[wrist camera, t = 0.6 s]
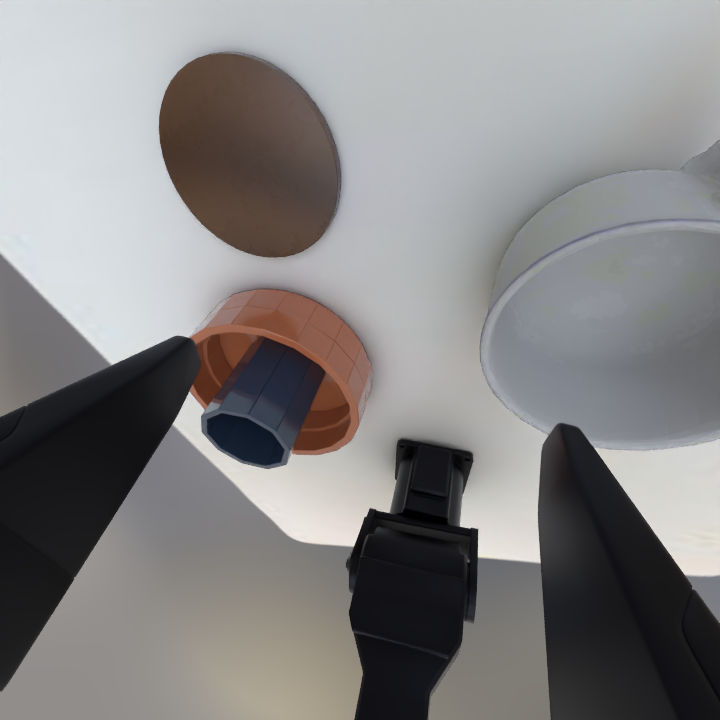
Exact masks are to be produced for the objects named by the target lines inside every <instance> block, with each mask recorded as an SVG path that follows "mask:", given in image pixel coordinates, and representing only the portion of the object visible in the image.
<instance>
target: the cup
mask: <svg viewBox="0 0 720 720" xmlns="http://www.w3.org/2000/svg"><path fill="white" fill-rule="evenodd" d="M325 374H326V371H325V370H324V369H323V368H322V367H321V366H320V365H318V364H317V363H315V362H314V361H312V360H311V359H309V358H308V357H306V356H305V355H303V354H302V353H300V352H299V351H297V350H296V349H294V348H292V347H290V346H287V345H284V344H282V343H279V342H277V341H274V340H272V339H269V338H267V337H264V336H260V337H259V338H258V339H257V340H256V341H255V342H253V343H251V345H250V346H249V348H248V349H247V351H246V352H245V354H244V355H243V356H242V358H241V359H240V361H239V362H238V364H237V365H236V367H235V368H234V369H233V371H232V372H231V374H230V375H229V377H228V378H227V380H226V381H225V382H224V384H223V385H222V387H221V388H220V390H219V391H218V393H217V394H216V395H215V397H214V398H213V400H212V401H211V403H210V404H209V406H208V407H207V408H206V410H205V411H204V413H203V414H202V416H201V425H202V433H203V434H204V435H205V436H206V437H207V438H208V439H209V440H210V442H211V443H212V444H213V445H214V446H215V447H216V448H217V449H218V450H219V451H221V452H223V453H225V454H227V455H228V456H230V457H232V458H234V459H236V460H237V461H239V462H241V463H243V464H248V465H252V466H256V467H261V468H265V469H270V468H275V467H279V466H283V465H286V464H287V462H288V460H289V458H290V456H291V453H292V451H293V449H294V447H295V445H296V442H297V440H298V438H299V436H300V433H301V431H302V429H303V427H304V424H305V422H306V420H307V418H308V415H309V413H310V411H311V409H312V406H313V404H314V402H315V400H316V398H317V395H318V393H319V391H320V389H321V386H322V383H323V380H324V378H325Z"/></svg>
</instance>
